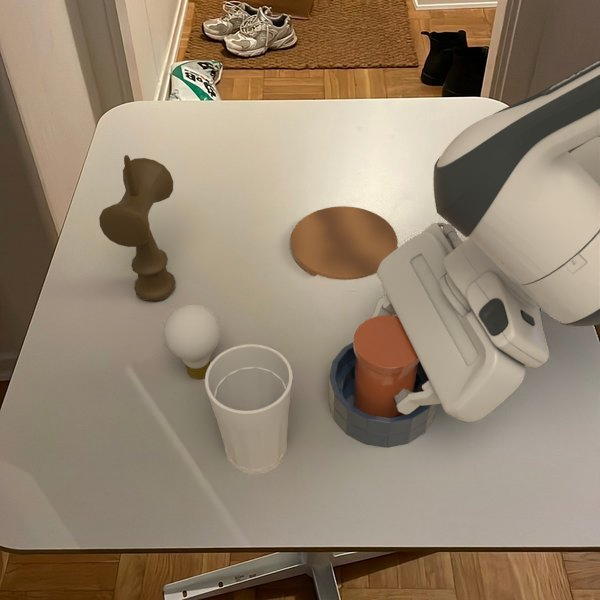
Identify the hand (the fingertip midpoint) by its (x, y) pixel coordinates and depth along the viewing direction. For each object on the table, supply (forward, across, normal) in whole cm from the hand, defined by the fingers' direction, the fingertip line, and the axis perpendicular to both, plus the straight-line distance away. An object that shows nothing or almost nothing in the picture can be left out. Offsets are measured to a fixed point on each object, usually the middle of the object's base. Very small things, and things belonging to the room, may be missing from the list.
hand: (382, 370), depth 74 cm
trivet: (+2, -26, +8) cm, 27 cm away
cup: (+15, +1, -5) cm, 15 cm away
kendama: (+19, -25, -10) cm, 33 cm away
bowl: (+4, 0, +5) cm, 7 cm away
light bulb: (+17, -10, -8) cm, 21 cm away
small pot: (+4, 0, +5) cm, 6 cm away
